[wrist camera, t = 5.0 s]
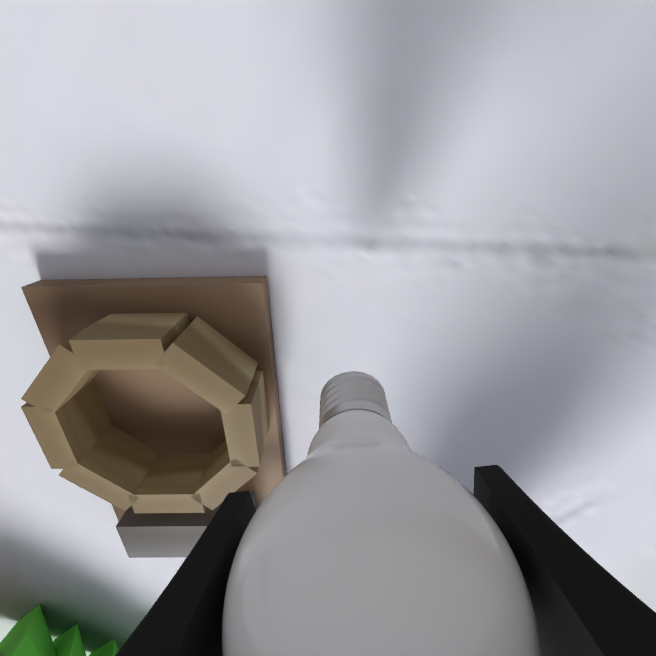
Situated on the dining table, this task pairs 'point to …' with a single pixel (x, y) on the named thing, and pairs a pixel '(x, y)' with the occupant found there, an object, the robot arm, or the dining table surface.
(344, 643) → the lightbulb
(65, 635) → the decorative tree
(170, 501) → the jig
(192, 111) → the dining table surface
